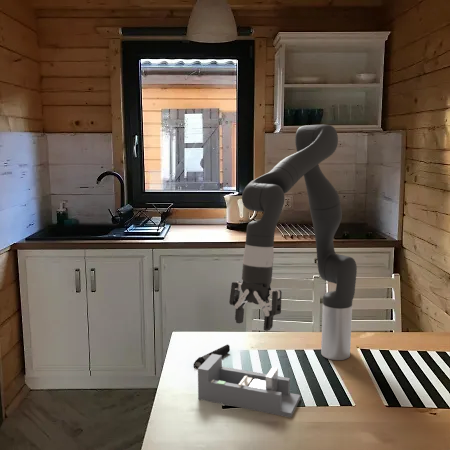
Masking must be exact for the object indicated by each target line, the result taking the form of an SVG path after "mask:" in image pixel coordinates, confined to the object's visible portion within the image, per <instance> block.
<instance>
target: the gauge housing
mask: <svg viewBox="0 0 450 450" xmlns="http://www.w3.org/2000/svg"><path fill="white" fill-rule="evenodd" d="M267 374H268V373H261V372H257V371H256V372H255V371H251V370H250V371H249V370H244V369H238V368H233V367H228V366H223V357H222V355H217V354H211V355H210V357H209V358H208V359H207V360H206V361H205V362H204V363H203V364H202V365H201V366H200V367H199V368H198V369H197V392H198V393H197V395H198V397H197V399H198V400H199V401H200V400H202V401H204V402H205V401H206V402H211V403H217V404H221V405H226V406H231V407H236V408H240V409H241V408H242V409H245V410H250V411H251V410H252V411H257V412H262V413H267V414H272V415H276V416H282V417H286V418H292V417H293V415H294V413H295V410H296V408H297V407H298V405H299V403H300V401H301V394H298V393H291V391H290V390H291V389H290V388H291V387H290V386H291V378H290V377H286V376H281V375H280V376H279V375H278V389H277V390H276V391H271V390H266V389H260V388H255V387H249V386H244V385H241V386H238V384H239V383H240V381H241V380H242V379H243V378H244V376H248V377H252V378H253V379H254V378H258V379H263V380H266V375H267Z"/></svg>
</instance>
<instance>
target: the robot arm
mask: <svg viewBox="0 0 450 450" xmlns="http://www.w3.org/2000/svg"><path fill="white" fill-rule="evenodd" d="M294 140H295V148H296V152H294V153H292V154H290V155H289V156H286V157H284V158H283V159H281V160H280V161H279V162H278V163H277V164H276V165H275V166H274V167H272V168H271V169H270V171H269V172H267V173H264V174H262V175H261V176H258V177H257V178H255V179H253V180H251V181H250V182H249V183H248V184H247V185H246V186H245V188H244V189H243V191H242V195H241V202H242V204H243V206H244V207H245V208H246V209H247V210H249V211H252V212H259V213H260V212H261V213H263V214H262V216H261V218H260V219H259V220H252V221H249V222H248V224H247V225H246V233H245V235H246V236H245V247H244V251H243V257H242V258H243V259H242V270H241V271H242V272H241V274H242V275H241V280H242V283H241V281H238V280H237V281H233V282H231V287H230V294H229V305H231V306H234V308H235V315H234V320H235V322H236V324H242V323H243V322H244V319H245V318H244V314H245V308H244V307H245V306H246V304H247V303H249V304H251V303H253V304H255V305H259V307H260V308H261V309H262V310H263V313H264V315H265V316H264V319H263V331H265V332H269V331H270V330H271V329H272V328H273V326H274V325H273V323H274V316H277V315H280V314H281V313H282V290H281V289H278V290H275V289H272V287H271V284H272V280H273V270H274V255H275V251H274V243H275V231H276V228H277V225H278V222H279V219H280V216H281V214H282V211H283V208H284V205H285V201H286V199H285V198H286V197H285V194H286V193H288V192H289V191H290V190H291V189H292V188H293V187H294V186H295V185H296V184H297V182H298V181H299V180H300V179H302V177H303V178H304V182H305V188H306V193H307V198H308V206H309V210H310V216H311V221H312V226H313V232H314V239H315V247H316V259H317V260H316V261H317V262H316V263H317V269H318V275H319V276H320V278H321V279H322V280H323V281H326V282H328V283H331V284H334V285H335V284H336V287H335V290H332V291H328V292H325V293H324V294H323V296H322V316H321V349H320V350H321V351H320V354H321V355H322V357H324V358H326V359H329V360H333V361H343V360H344V361H345V360H347V359H349V358H350V357H351V342H352V340H351V339H352V321H353V320H352V318H353V317H352V316H353V301H354V297H355V291H356V282H357V273H358V270H357V267H358V266H357V262H356V260H355V259H354V258H353V257H351V256H348V255H343V254H338V253H336V251H335V250H336V249H335V245H334V237H335V235H336V233H337V230H338V228H339V227H340V224H341V221H342V217H343V213H342V212H343V211H342V206H341V205H342V204H341V199H340V195H339V193H338V191H337V190H336V188H335V187H334V185H333V184H332V182H331V181H329V180H328V178H327V177H326V176H325V175H324V173H323V172H322V170H321V167H320V166H319V164H321V163H322V162H323V161H325V160H326V159H328V158H329V157H331V156H332V155H333V154H334V153H335V152H336V150H337V148H338V143H339V136H338V131H337V129H336V128H335V127H334V126H333V125H330V124H323V123H322V124H310V125H309V124H308V125H306V124H305V125H302V126H299V128H297V130H296V131H295V139H294ZM241 291H242V295H240V294H241ZM270 298H271V300H270Z"/></svg>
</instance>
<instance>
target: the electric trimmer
mask: <svg viewBox="0 0 450 450" xmlns="http://www.w3.org/2000/svg"><path fill="white" fill-rule="evenodd" d="M230 351H231V349H230V345H229V344H226V345H223V346H221V347H219V348H216V349H215V350H213V351H211V352H209V353H207V354H205V355H203V356H199V357H198V358H196V359H195V361H194V362H193V368H195V369H197V370H198V368H199V367H200V366H201V365H202V364H203V363H204V362H205V361H206V360H207V359H208V358H209V357H210V355H211V354H217V355H222V358H223V357H224V356H226V355H227V354H228V353H229V352H230Z"/></svg>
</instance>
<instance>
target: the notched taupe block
mask: <svg viewBox="0 0 450 450" xmlns="http://www.w3.org/2000/svg"><path fill="white" fill-rule="evenodd" d="M278 368H279V367H274V366H272V367H271V368H270V369H269V371H268V373H266V374H267V375H266V380H263V379H258V378H254V379H253V381H252V382H251V384H250V385H249V387H255V388H260V389H266V390H271V391H276V390H277V389H278V376H279V369H278Z"/></svg>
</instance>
